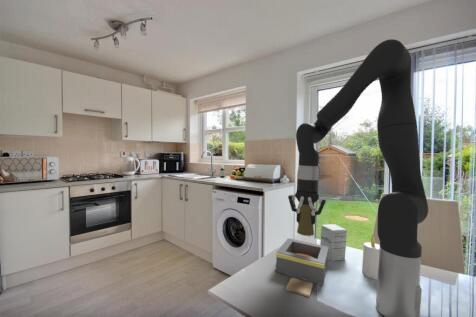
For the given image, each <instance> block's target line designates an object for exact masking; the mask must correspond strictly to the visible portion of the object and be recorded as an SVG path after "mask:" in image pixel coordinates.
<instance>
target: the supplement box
mask: <svg viewBox="0 0 476 317" xmlns="http://www.w3.org/2000/svg"><path fill="white" fill-rule="evenodd" d="M347 232H348V229H346V228H343V227H341V226H339V225H337V224H335V223H331V224H321V228H320V243H319V245H322V246H327V247H329V251H328V261H331V262H333V261H342V260H346V251H347V250H346V249H347V248H346V247H347V234H348V233H347Z"/></svg>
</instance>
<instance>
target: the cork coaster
mask: <svg viewBox="0 0 476 317" xmlns="http://www.w3.org/2000/svg"><path fill="white" fill-rule="evenodd" d="M313 286H314V282H310V281H307V280H303V279H300V278H296V277H293V276H290V279H289V281H288V283H287V285H286V287H285V290H286V291H289V292H292V293H295V294H298V295H302V296H303V297H304V296H305V297H308V298H310V296H311V293H312V289H313Z"/></svg>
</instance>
